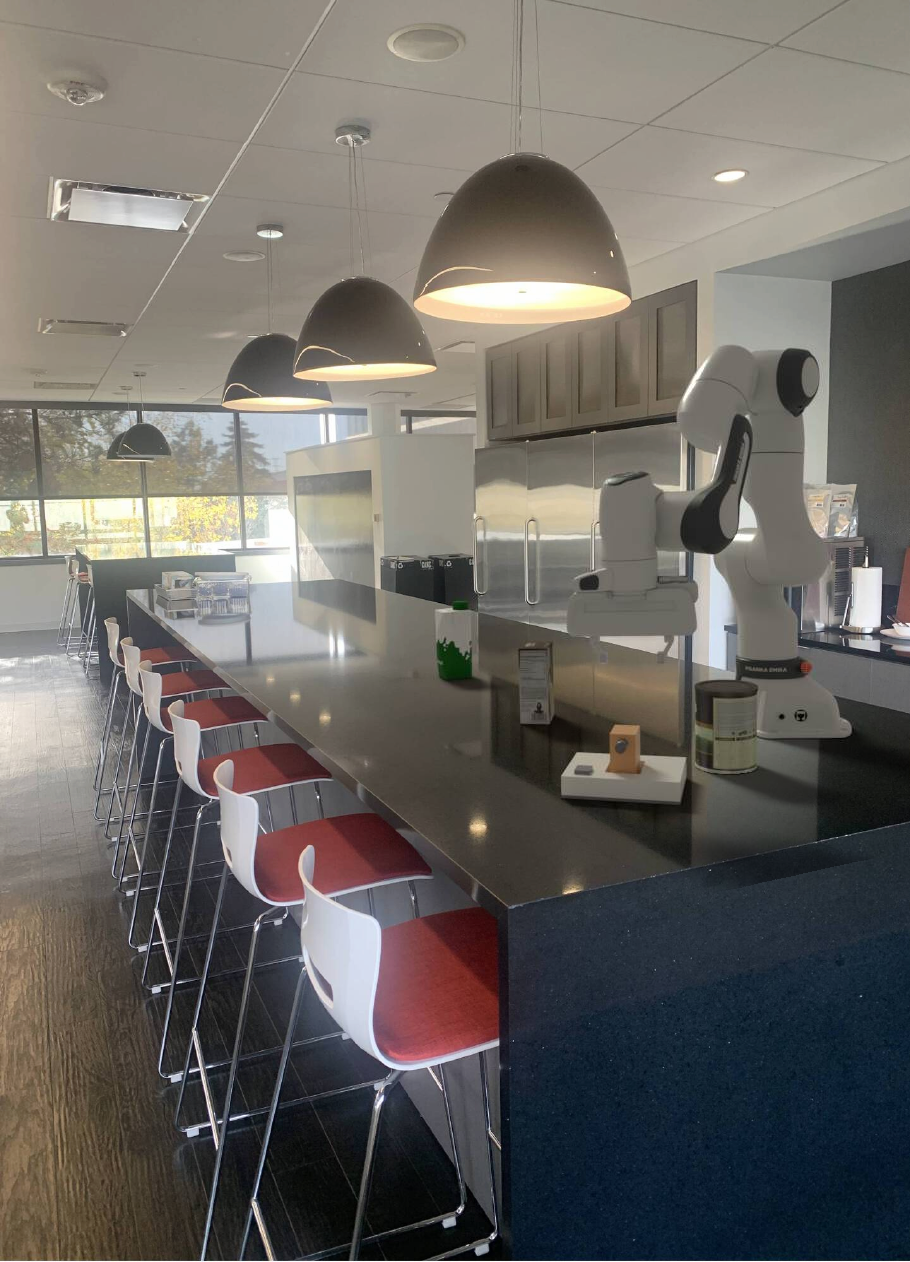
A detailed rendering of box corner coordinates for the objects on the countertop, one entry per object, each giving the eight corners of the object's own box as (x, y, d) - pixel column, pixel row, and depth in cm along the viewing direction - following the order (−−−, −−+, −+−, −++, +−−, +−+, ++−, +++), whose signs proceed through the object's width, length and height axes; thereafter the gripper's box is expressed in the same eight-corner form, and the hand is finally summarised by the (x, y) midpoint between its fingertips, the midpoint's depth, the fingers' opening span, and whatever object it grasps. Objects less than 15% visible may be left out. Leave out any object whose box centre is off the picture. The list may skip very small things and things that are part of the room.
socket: (686, 778, 155) (686, 753, 154) (680, 805, 141) (680, 778, 141) (577, 772, 160) (576, 748, 160) (561, 797, 147) (560, 772, 146)
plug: (640, 779, 153) (640, 725, 152) (633, 797, 144) (633, 739, 143) (615, 778, 154) (614, 724, 153) (607, 795, 146) (606, 738, 144)
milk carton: (476, 678, 248) (474, 602, 245) (443, 681, 245) (440, 604, 242) (466, 672, 256) (463, 599, 253) (434, 675, 254) (431, 601, 251)
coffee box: (525, 714, 205) (523, 641, 202) (554, 714, 203) (553, 640, 201) (519, 724, 196) (517, 647, 194) (550, 724, 194) (548, 647, 192)
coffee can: (684, 769, 160) (683, 687, 158) (710, 755, 168) (710, 677, 166) (742, 778, 153) (743, 693, 151) (767, 763, 161) (767, 682, 159)
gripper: (698, 572, 148) (700, 659, 150) (569, 576, 154) (573, 660, 156) (696, 577, 142) (698, 667, 144) (562, 581, 148) (566, 667, 150)
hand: (632, 663), depth 150 cm, fingers open, 8 cm apart
